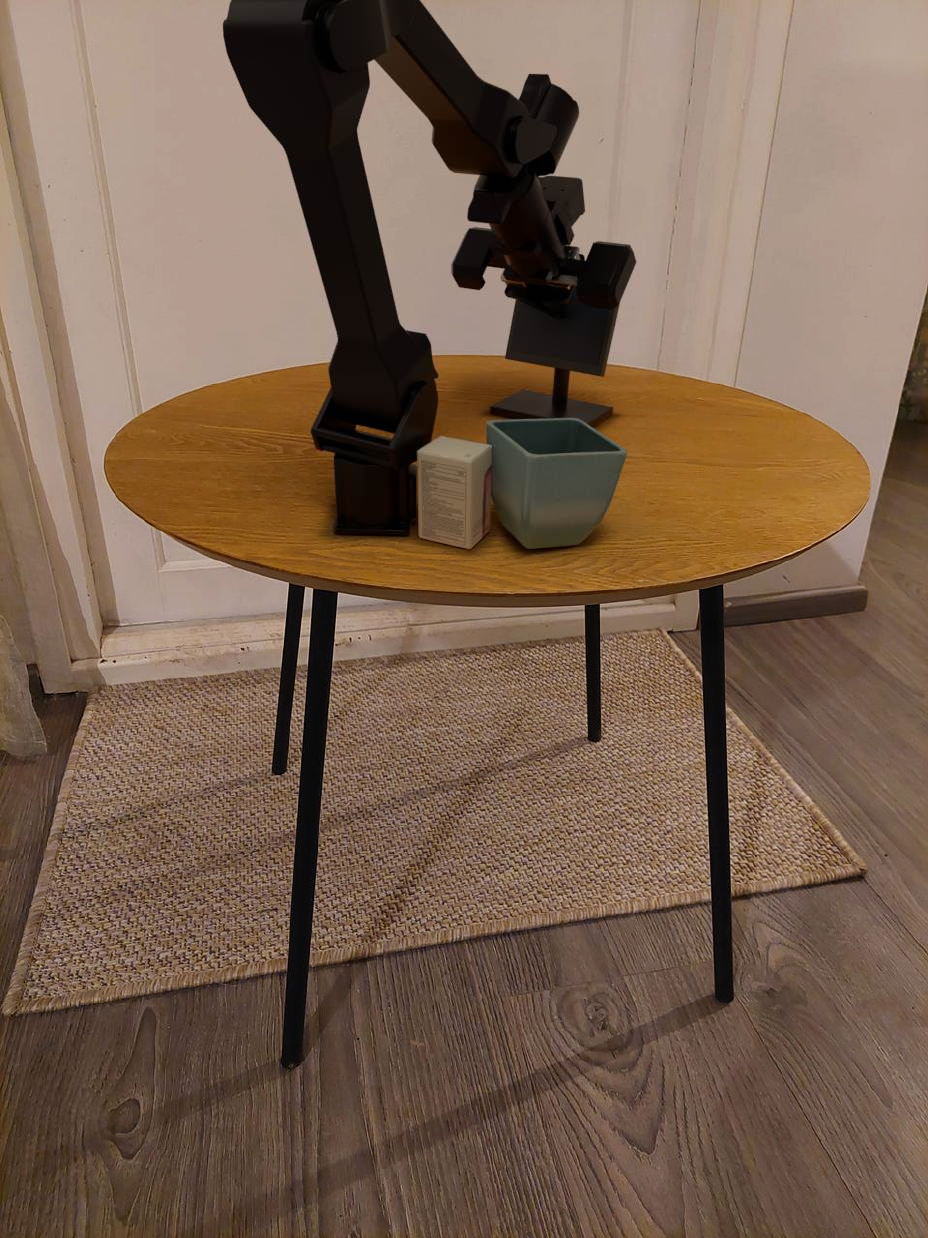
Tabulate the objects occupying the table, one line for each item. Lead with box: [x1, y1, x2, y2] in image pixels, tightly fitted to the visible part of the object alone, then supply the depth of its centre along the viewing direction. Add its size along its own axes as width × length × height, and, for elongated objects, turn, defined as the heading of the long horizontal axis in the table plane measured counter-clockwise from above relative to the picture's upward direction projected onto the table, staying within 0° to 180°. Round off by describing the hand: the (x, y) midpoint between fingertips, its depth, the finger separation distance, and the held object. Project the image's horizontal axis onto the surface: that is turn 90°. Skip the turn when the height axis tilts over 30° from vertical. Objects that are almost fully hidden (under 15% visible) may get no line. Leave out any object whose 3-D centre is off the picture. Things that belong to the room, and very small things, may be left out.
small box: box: [416, 435, 492, 550], centre depth 75 cm, size 5×4×8 cm
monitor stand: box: [489, 368, 614, 429], centre depth 103 cm, size 8×12×7 cm, turn 59°
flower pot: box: [485, 418, 629, 550], centre depth 75 cm, size 9×9×9 cm
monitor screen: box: [504, 286, 621, 378], centre depth 101 cm, size 1×12×10 cm, turn 59°
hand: (561, 315), depth 100 cm, fingers closed, pressing on monitor screen
